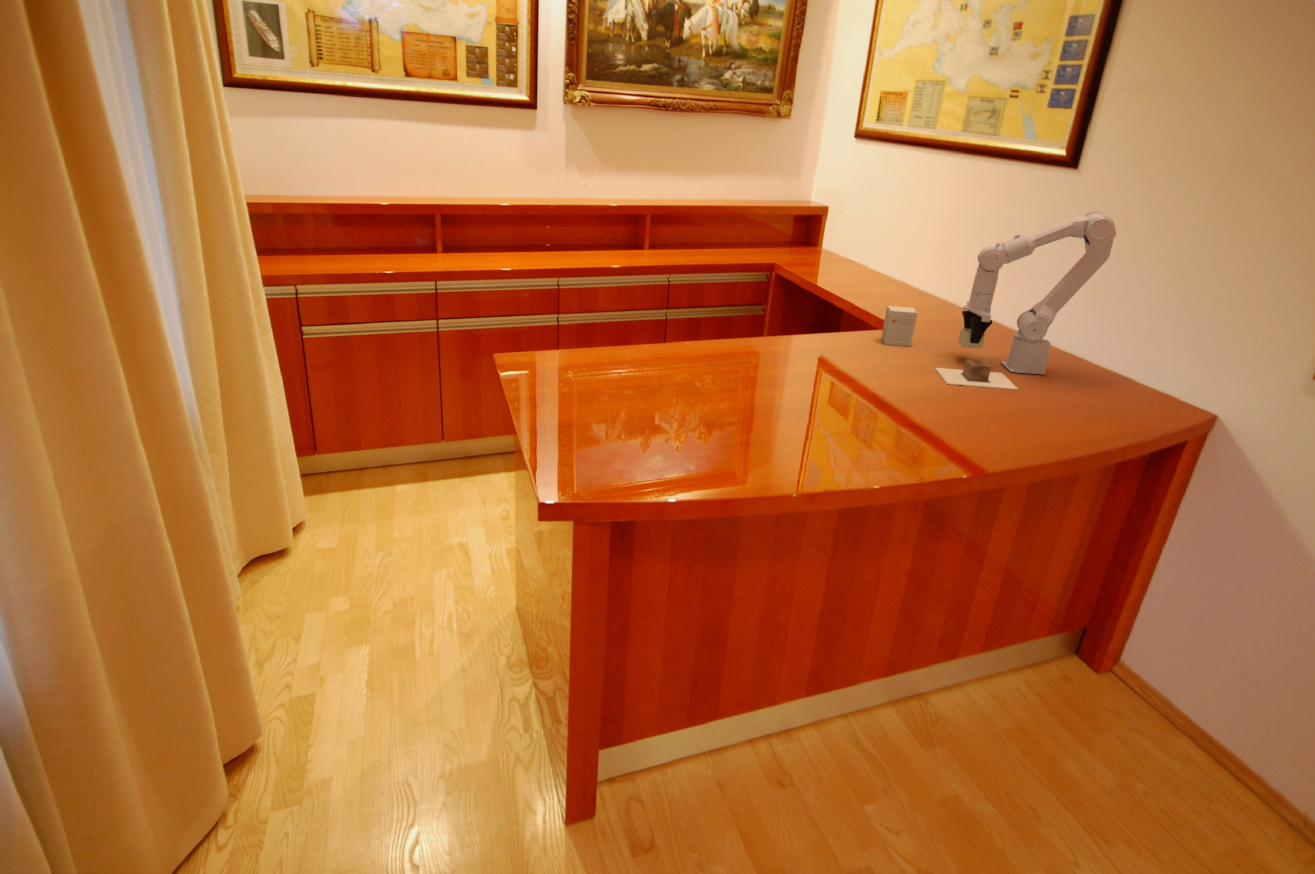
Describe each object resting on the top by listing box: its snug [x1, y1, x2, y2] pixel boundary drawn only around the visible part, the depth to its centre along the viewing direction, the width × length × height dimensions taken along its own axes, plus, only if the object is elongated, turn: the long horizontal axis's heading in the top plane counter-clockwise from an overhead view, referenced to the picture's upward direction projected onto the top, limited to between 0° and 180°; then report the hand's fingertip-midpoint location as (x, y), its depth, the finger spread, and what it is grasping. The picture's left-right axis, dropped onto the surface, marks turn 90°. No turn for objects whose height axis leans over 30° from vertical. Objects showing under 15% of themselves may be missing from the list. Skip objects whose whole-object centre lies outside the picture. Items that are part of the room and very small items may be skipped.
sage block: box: [957, 328, 986, 350], centre depth 208 cm, size 5×5×4 cm
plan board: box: [934, 367, 1019, 391], centre depth 198 cm, size 18×12×1 cm, turn 86°
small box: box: [880, 305, 918, 347], centre depth 222 cm, size 8×6×10 cm
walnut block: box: [962, 359, 992, 382], centre depth 197 cm, size 5×5×4 cm
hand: (971, 340), depth 209 cm, fingers closed on sage block, 5 cm apart
